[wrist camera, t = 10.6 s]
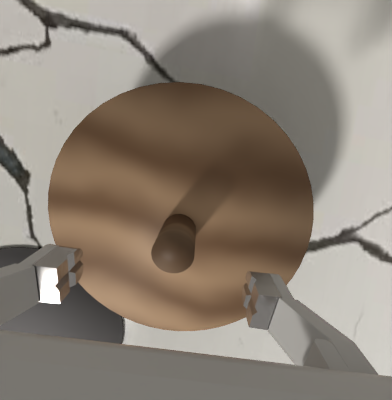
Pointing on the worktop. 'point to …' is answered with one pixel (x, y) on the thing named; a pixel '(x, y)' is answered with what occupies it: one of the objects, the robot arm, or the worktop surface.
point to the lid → (180, 204)
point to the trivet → (64, 312)
